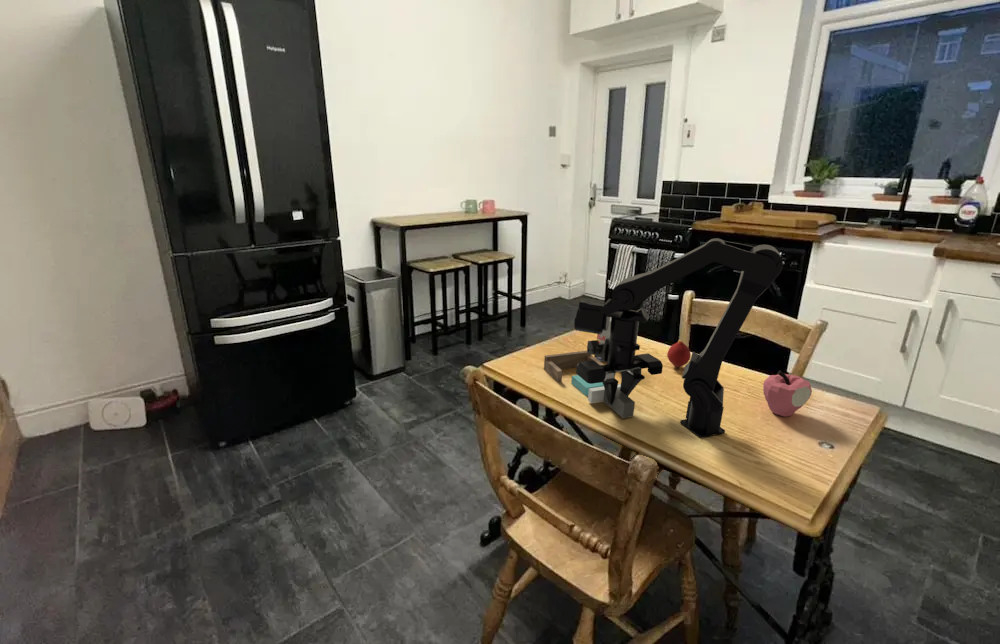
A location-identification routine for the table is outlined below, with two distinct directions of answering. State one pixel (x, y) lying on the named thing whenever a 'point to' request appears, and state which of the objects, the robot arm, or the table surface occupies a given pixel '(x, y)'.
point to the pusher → (620, 403)
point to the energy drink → (603, 337)
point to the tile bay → (565, 362)
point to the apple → (786, 393)
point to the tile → (584, 384)
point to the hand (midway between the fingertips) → (616, 402)
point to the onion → (679, 354)
